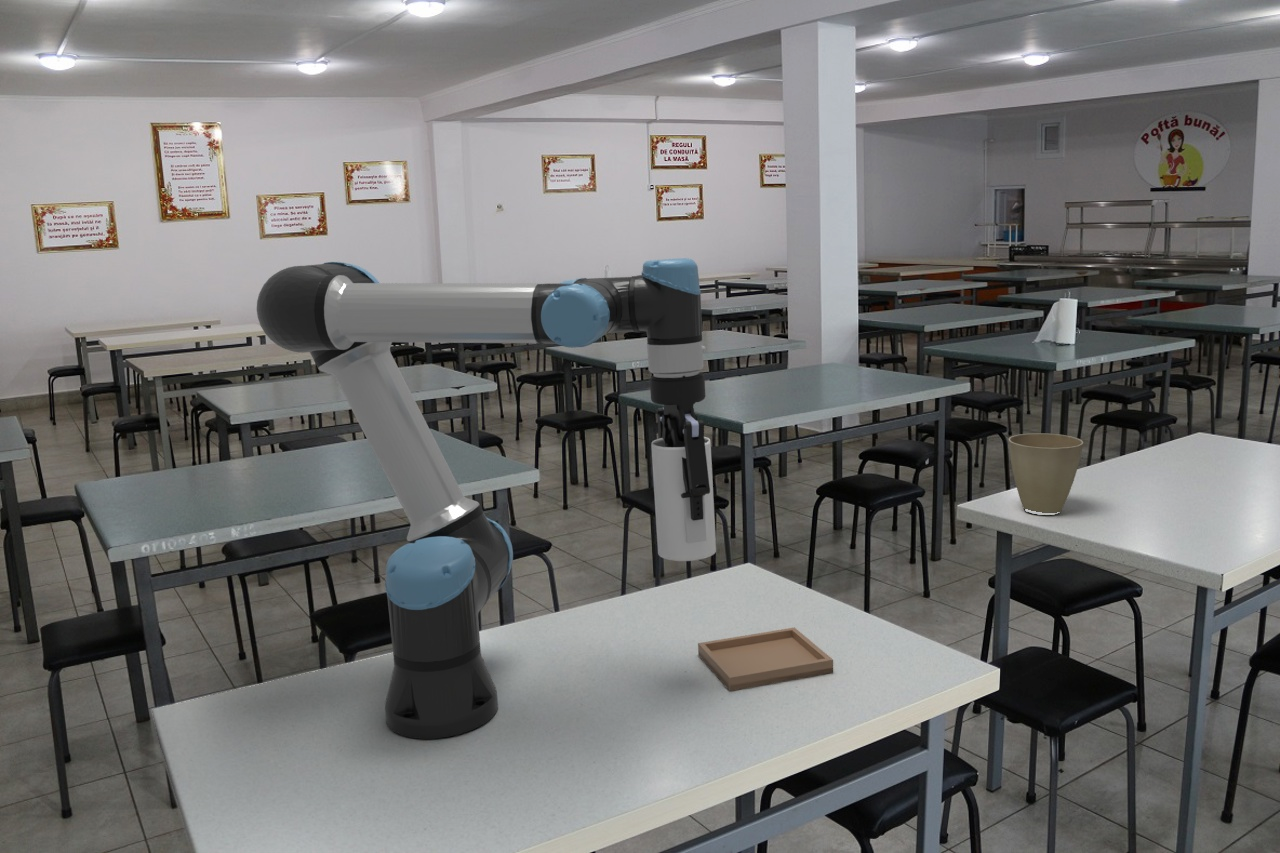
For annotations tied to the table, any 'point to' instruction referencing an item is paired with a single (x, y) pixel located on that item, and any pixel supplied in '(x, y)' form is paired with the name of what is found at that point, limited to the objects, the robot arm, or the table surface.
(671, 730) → the table surface
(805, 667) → the tray
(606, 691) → the table surface
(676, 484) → the cup
